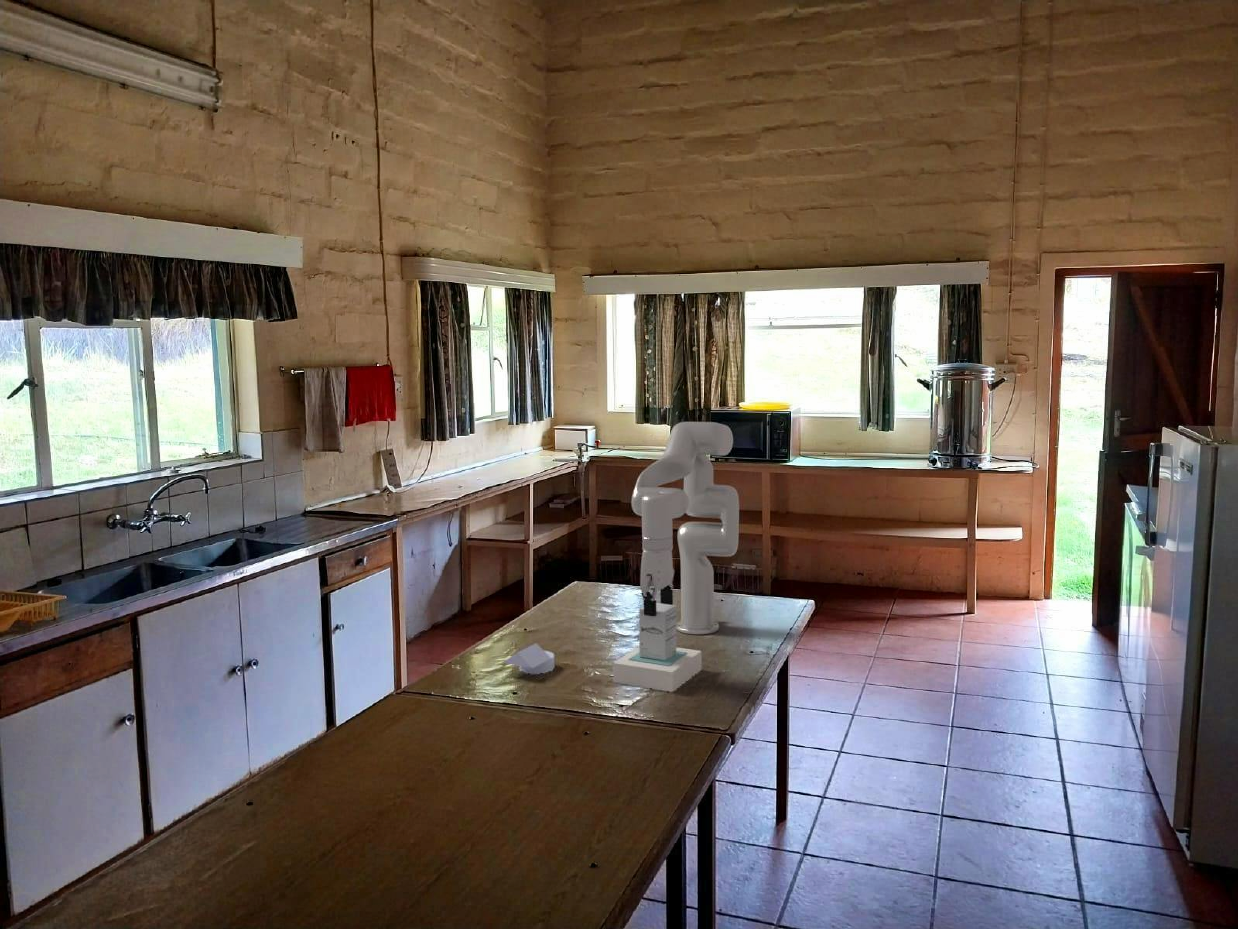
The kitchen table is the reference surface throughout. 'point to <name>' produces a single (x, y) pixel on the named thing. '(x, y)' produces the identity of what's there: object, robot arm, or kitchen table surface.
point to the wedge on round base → (533, 660)
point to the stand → (657, 670)
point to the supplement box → (658, 632)
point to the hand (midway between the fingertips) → (658, 610)
